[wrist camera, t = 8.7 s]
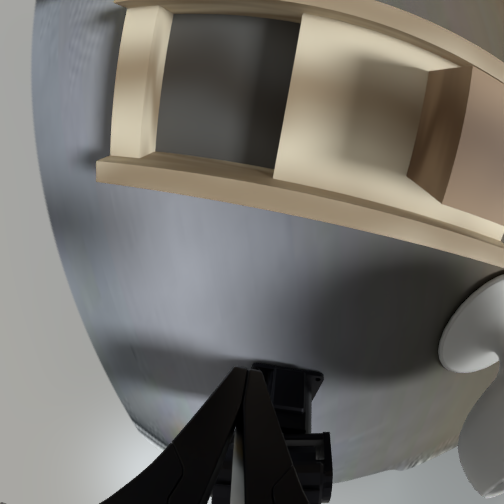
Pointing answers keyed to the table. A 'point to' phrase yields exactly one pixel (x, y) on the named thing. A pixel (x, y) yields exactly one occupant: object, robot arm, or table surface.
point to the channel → (290, 112)
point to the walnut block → (462, 142)
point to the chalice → (496, 395)
